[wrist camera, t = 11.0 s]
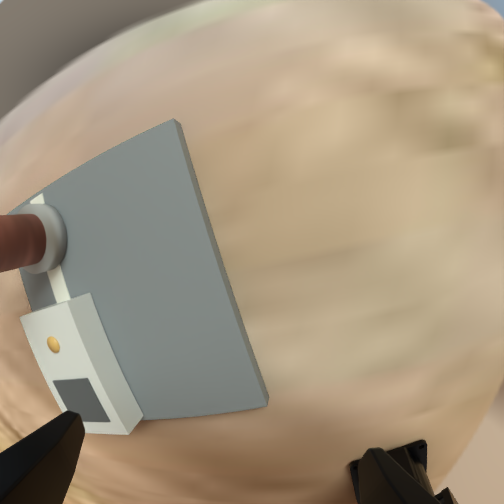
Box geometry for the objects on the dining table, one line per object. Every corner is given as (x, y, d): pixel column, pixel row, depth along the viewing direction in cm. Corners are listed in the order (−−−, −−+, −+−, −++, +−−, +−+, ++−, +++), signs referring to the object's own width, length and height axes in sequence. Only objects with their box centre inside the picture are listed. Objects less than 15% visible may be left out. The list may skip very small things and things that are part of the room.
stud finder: (143, 415, 20) (128, 435, 18) (90, 416, 21) (73, 432, 19) (90, 292, 19) (65, 302, 17) (41, 308, 20) (18, 317, 18)
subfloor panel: (268, 396, 20) (266, 407, 19) (88, 413, 23) (81, 420, 21) (180, 123, 18) (172, 117, 17) (16, 213, 21) (5, 214, 20)
